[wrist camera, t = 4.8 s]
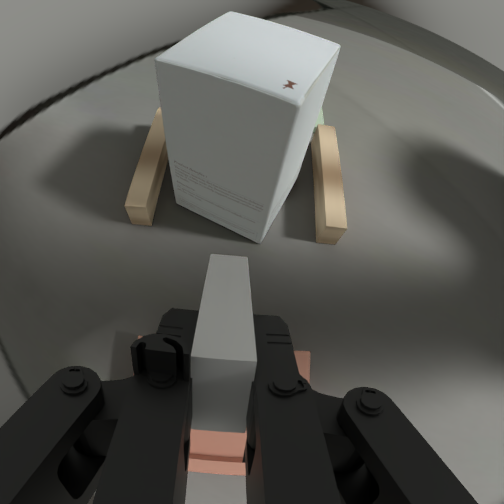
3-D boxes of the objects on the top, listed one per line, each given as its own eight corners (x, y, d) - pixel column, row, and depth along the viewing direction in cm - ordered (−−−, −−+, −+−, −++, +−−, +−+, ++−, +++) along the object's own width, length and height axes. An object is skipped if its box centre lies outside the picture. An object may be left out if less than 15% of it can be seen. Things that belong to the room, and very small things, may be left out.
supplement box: (299, 176, 26) (347, 45, 14) (259, 247, 23) (301, 107, 11) (221, 141, 27) (230, 7, 15) (171, 203, 24) (149, 56, 12)
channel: (161, 128, 27) (158, 107, 24) (326, 146, 28) (334, 126, 26) (132, 223, 22) (124, 205, 20) (335, 244, 24) (347, 228, 21)
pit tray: (145, 340, 19) (138, 335, 17) (301, 355, 20) (310, 351, 18) (135, 454, 16) (126, 460, 14) (295, 468, 17) (303, 475, 15)
